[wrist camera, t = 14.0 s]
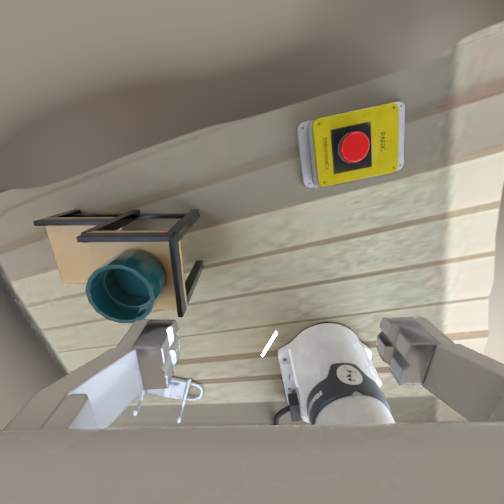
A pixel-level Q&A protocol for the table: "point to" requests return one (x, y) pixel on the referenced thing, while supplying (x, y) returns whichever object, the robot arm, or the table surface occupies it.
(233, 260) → the table surface
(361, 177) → the emergency button
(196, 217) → the rack
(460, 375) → the robot arm
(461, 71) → the table surface
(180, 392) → the wall mount rack
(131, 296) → the cup
